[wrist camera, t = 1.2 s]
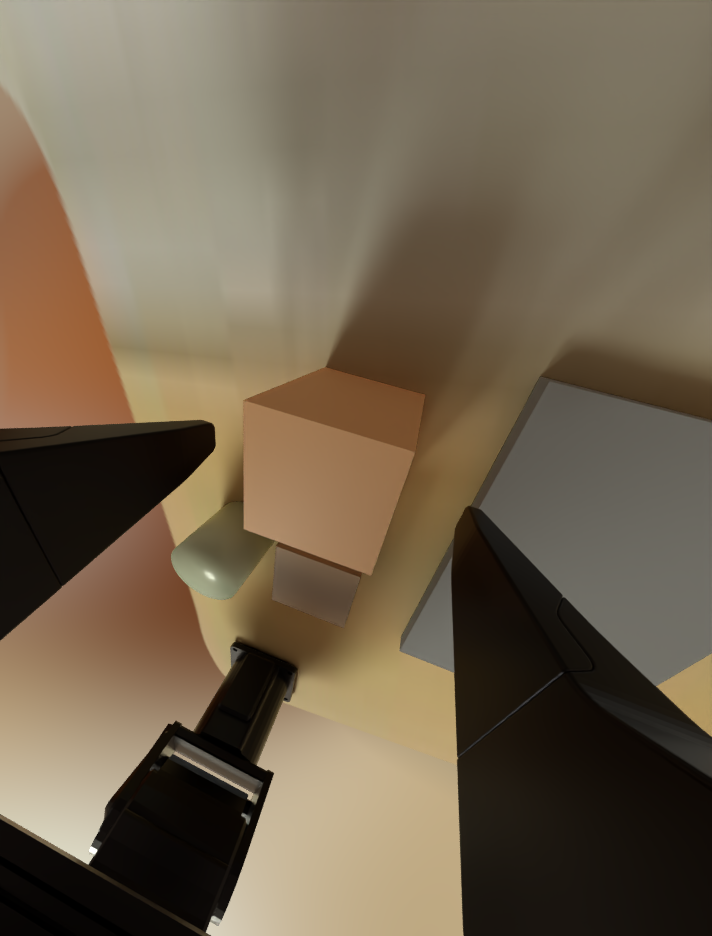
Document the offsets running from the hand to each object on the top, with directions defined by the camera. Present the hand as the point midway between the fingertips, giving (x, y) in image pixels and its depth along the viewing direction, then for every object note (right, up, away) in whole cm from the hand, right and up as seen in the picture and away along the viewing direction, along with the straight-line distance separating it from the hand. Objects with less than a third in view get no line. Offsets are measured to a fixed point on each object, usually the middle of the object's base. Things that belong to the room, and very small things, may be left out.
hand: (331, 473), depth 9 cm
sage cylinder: (-6, -4, +9) cm, 12 cm away
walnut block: (0, -4, +7) cm, 8 cm away
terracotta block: (+1, +2, +4) cm, 4 cm away
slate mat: (+11, -6, +5) cm, 14 cm away
